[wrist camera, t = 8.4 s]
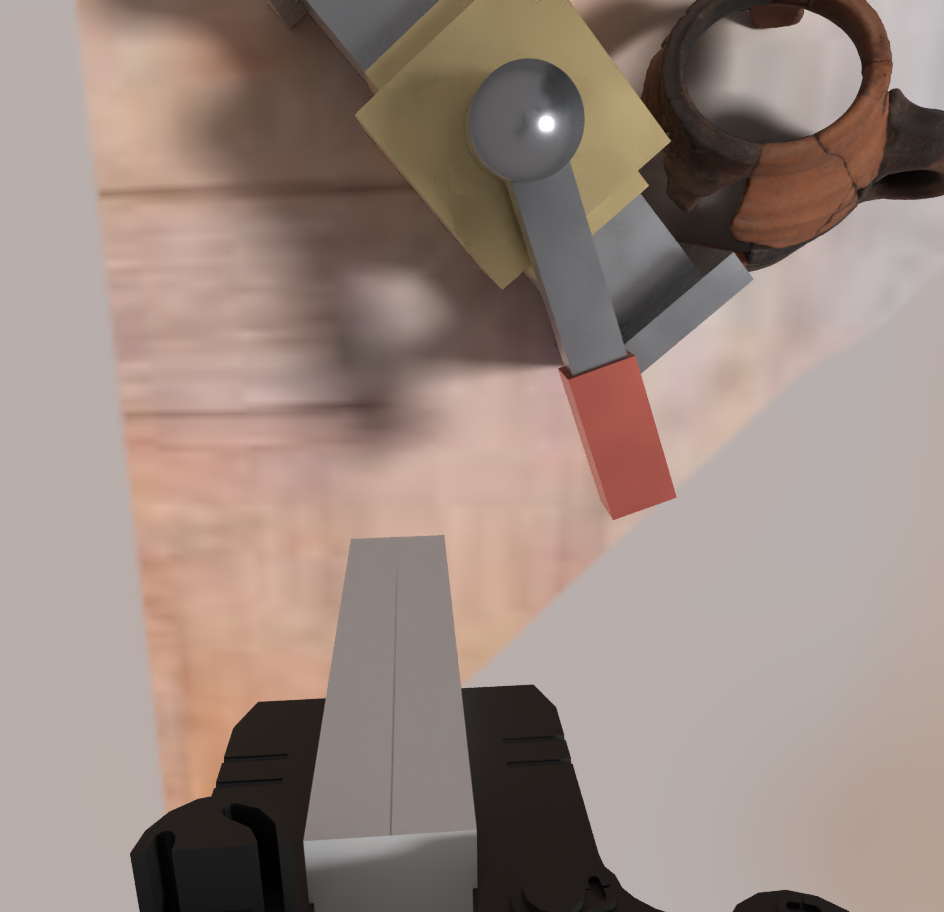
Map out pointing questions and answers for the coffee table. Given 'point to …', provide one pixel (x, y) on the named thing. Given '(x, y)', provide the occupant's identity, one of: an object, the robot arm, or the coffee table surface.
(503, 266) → the valve body
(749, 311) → the coffee table surface
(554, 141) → the lever
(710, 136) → the pottery mug
